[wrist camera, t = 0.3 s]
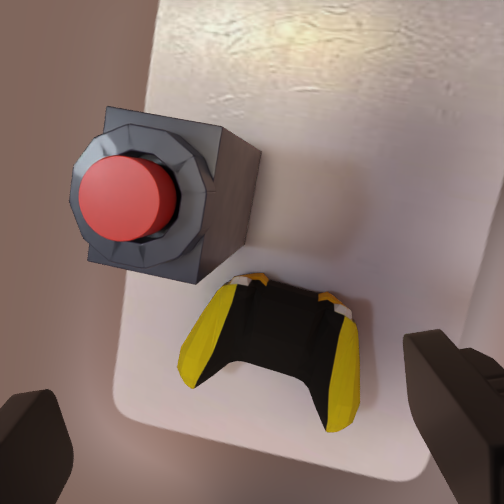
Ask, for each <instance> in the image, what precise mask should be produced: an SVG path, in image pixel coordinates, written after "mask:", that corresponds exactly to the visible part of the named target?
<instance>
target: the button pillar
mask: <svg viewBox="0 0 504 504" xmlns="http://www.w3.org/2000/svg"><path fill="white" fill-rule="evenodd" d="M113 155H121V156H129V157H135V158H141V159H147V160H150V161H153V162H155V163H157V164H158V165H160V166H161V167H162V168H163V169H164V170H165V171H166V172H167V173H168V174H169V175H170V177H171V179H172V181H173V183H174V186H175V189H176V195H177V202H176V208H175V212H174V214H173V216H172V218H171V220H170V221H169V223H168V224H167V225H166V226H165V227H164V228H163V229H161V230H160V231H158V232H156V233H154V234H151V235H148V236H144V237H141V238H137V239H134V240H130V241H124V242H119V241H112V240H109V239H106V238H104V237H102V236H100V235H99V234H97V233H96V232H95V231H94V230H93V229H92V228H91V227H90V226H89V225H88V224H87V222H86V220H85V219H84V217H83V215H82V212H81V209H80V205H79V188H80V184H81V181H82V178H83V176H84V174H85V173H86V171H87V170H88V169H89V168H90V167H91V166H92V165H93V164H94V163H95V162H97V161H98V160H100V159H102V158H105V157H108V156H113ZM260 157H261V151H260V150H258V149H257V148H255V147H254V146H252V145H250V144H249V143H247V142H246V141H244V140H243V139H241V138H239V137H238V136H236V135H235V134H233V133H232V132H230V131H228V130H227V129H225V128H224V127H222V126H217V125H212V124H206V123H201V122H195V121H189V120H184V119H178V118H172V117H167V116H161V115H156V114H150V113H144V112H139V111H133V110H127V109H122V108H116V107H111V106H107V107H106V115H105V122H104V130H103V134H101V135H98V136H97V137H94V138H93V140H92V141H91V142H90V144H89V145H88V146H87V148H86V149H85V151H84V152H83V153H82V155H81V156H80V158H79V159H78V160H77V162H76V163H75V164H74V167H73V172H72V181H71V190H70V199H69V203H70V206H71V209H72V211H73V214H74V216H75V219H76V222H77V224H78V227H79V229H80V232H81V235H82V237H83V239H84V240H85V241H87V242H88V243H89V251H88V259H87V260H88V261H89V262H94V263H98V264H103V265H108V266H112V267H117V268H121V269H126V270H130V271H135V272H140V273H144V274H149V275H153V276H158V277H162V278H167V279H172V280H176V281H181V282H185V283H190V284H195V285H196V284H197V283H199V282H200V281H201V280H202V279H203V278H205V277H206V276H207V275H208V274H209V273H211V272H212V271H213V270H214V269H215V268H217V267H218V266H219V265H220V264H221V263H223V262H224V261H225V260H226V259H227V258H229V257H230V256H231V255H232V254H234V253H235V252H236V251H237V250H238V249H240V248H241V247H242V246H243V245H244V244H245V239H246V233H247V228H248V222H249V217H250V212H251V206H252V201H253V195H254V190H255V185H256V179H257V174H258V168H259V163H260Z"/></svg>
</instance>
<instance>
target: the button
mask: <svg viewBox="0 0 504 504" xmlns="http://www.w3.org/2000/svg"><path fill="white" fill-rule="evenodd" d="M176 202H177V195H176V189H175V186H174V183H173V181H172V179H171V177H170V175H169V174H168V173H167V172H166V171H165V170H164V169H163V168H162V167H161V166H160V165H158V164H157V163H155V162H153V161H150V160H147V159H141V158H135V157H129V156H121V155H113V156H108V157H105V158H102V159H100V160H98V161H97V162H95V163H94V164H93V165H92V166H91V167H90V168H89V169H88V170H87V171H86V173H85V174H84V176H83V178H82V181H81V184H80V188H79V205H80V209H81V212H82V215H83V217H84V219H85V220H86V222H87V224H88V225H89V226H90V227H91V228H92V229H93V230H94V231H95V232H96V233H97V234H99V235H100V236H102V237H104V238H106V239H109V240H112V241H119V242H124V241H130V240H134V239H137V238H141V237H144V236H148V235H151V234H154V233H156V232H158V231H160V230H161V229H163V228H164V227H165V226H166V225H167V224H168V223H169V221H170V220H171V218H172V216H173V214H174V212H175V208H176Z"/></svg>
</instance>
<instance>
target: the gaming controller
mask: <svg viewBox="0 0 504 504" xmlns="http://www.w3.org/2000/svg"><path fill="white" fill-rule="evenodd" d="M234 361H242V362H247V363H251V364H254V365H257V366H260V367H263V368H267V369H270V370H273V371H276V372H280V373H283V374H286V375H289V376H292V377H295V378H297V379H299V380H301V381H303V382H304V383H305V385H306V386H307V387H308V388H309V391H310V393H311V396H312V399H313V402H314V404H315V407H316V410H317V412H318V414H319V417H320V419H321V421H322V424H323V426H324V429H325V430H326V431H327V432H338V431H340V430H342V429H344V428H346V427H347V426H348V425H350V424H351V423H353V420H354V418H355V415H356V412H357V410H358V407H359V404H360V357H359V339H358V330H357V326H356V323H355V321H354V319H353V318H352V314H351V310H350V309H348V308H347V307H346V306H345V305H344V304H343V303H341V302H340V301H339V300H338V299H337V298H336V297H334V296H333V295H331V294H330V293H328V292H324V293H320V294H318V293H314V292H311V291H307V290H304V289H300V288H297V287H293V286H290V285H287V284H283V283H280V282H276V281H273V280H269V279H268V278H267V277H266V276H265V275H264V274H263V273H253V274H246V275H240V276H234V277H233V279H232V280H231V281H230V282H226V283H225V284H224V285H223V286H222V287H221V288H220V289H219V290H218V291H217V292H216V294H215V295H214V297H213V298H212V300H211V301H210V302H209V304H208V305H207V307H206V308H205V310H204V311H203V312H202V314H201V316H200V317H199V319H198V320H197V322H196V324H195V325H194V327H193V329H192V330H191V332H190V333H189V335H188V337H187V338H186V340H185V342H184V343H183V345H182V346H181V350H180V355H179V360H178V365H177V368H178V371H179V373H180V376H181V378H182V379H183V381H184V383H185V384H186V385H187V386H188V387H190V388H191V389H194V388H196V387H197V386H199V385H200V384H202V383H203V382H204V381H206V380H207V379H209V378H210V377H212V376H213V375H214V374H216V373H217V372H218V371H219V370H221V369H222V368H223V367H224V366H226V365H227V364H228V363H231V362H234Z"/></svg>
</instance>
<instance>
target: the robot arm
mask: <svg viewBox="0 0 504 504" xmlns="http://www.w3.org/2000/svg"><path fill="white" fill-rule="evenodd" d="M403 350H404V361H405V372H406V384H407V395H408V402H409V406H410V410H411V414H412V417H413V420H414V422H415V424H416V426H417V428H418V430H419V432H420V434H421V436H422V438H423V439H424V441H425V443H426V445H427V447H428V449H429V450H430V452H431V454H432V456H433V458H434V460H435V461H436V463H437V465H438V467H439V469H440V471H441V473H442V474H443V476H444V478H445V480H446V482H447V484H448V485H449V487H450V489H451V491H452V493H453V495H454V496H455V498H456V500H457V502H458V504H504V369H503V368H502V367H501V366H500V365H499V364H498V363H497V362H496V361H495V360H494V359H493V358H491V357H489V356H487V355H485V354H483V353H481V352H479V351H476V350H474V349H472V348H465V349H458V348H457V347H456V346H455V344H454V343H453V342H452V341H451V340H450V339H449V338H448V337H447V336H446V335H445V334H444V332H443V331H442V330H440V329H435V330H429V331H423V332H416V333H410V334H405V335H404V337H403ZM73 457H74V455H73V446H72V443H71V440H70V437H69V434H68V431H67V428H66V425H65V422H64V419H63V417H62V413H61V410H60V407H59V405H58V402H57V399H56V397H55V395H54V393H53V392H52V391H51V390H48V389H45V390H39V391H32V392H26V393H19V394H15V395H13V396H11V397H10V398H9V399H8V400H7V402H6V403H5V404H4V405H3V406H2V407H1V408H0V504H55V503H56V502H57V500H58V498H59V496H60V494H61V492H62V490H63V488H64V485H65V484H66V482H67V480H68V478H69V476H70V474H71V471H72V467H73V459H74V458H73Z"/></svg>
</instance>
